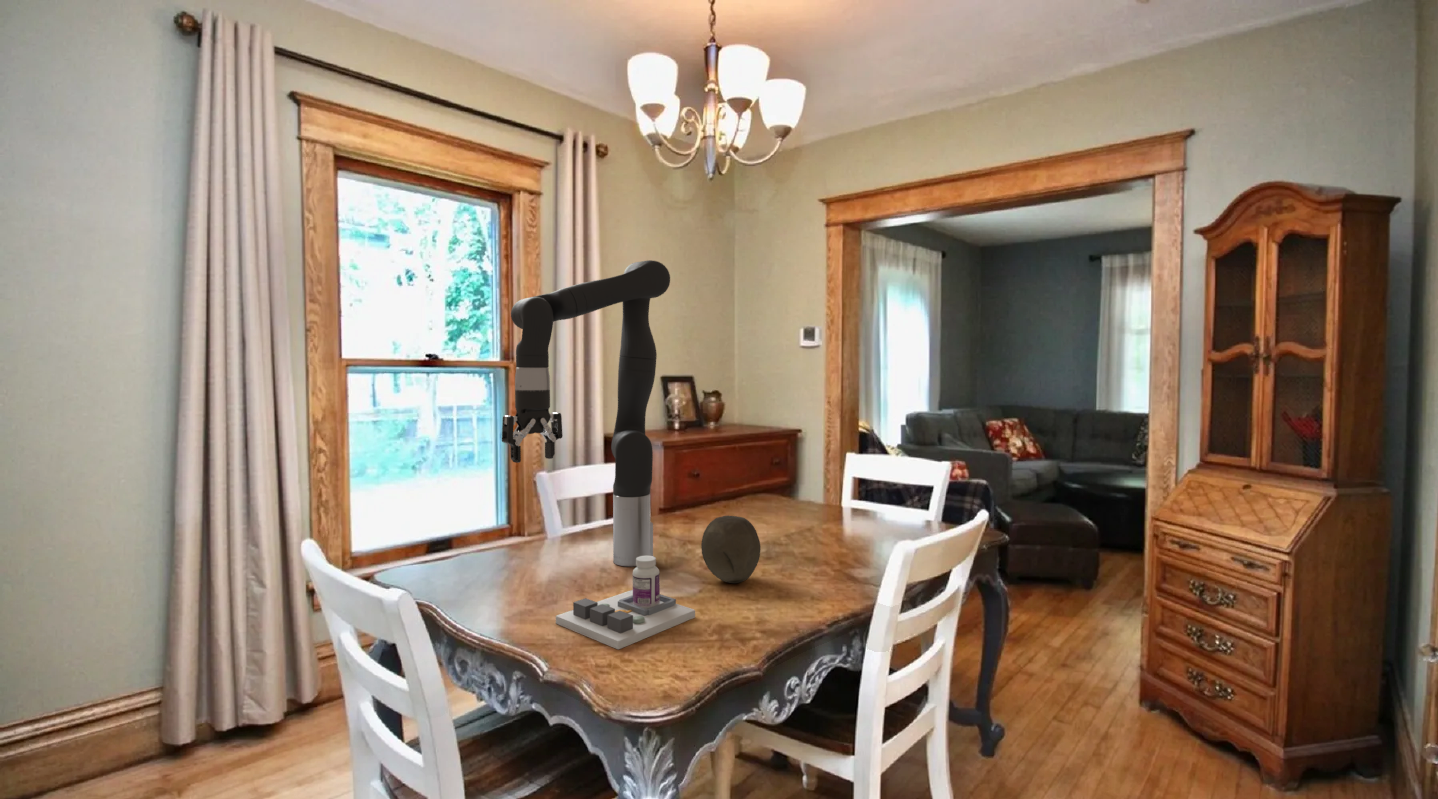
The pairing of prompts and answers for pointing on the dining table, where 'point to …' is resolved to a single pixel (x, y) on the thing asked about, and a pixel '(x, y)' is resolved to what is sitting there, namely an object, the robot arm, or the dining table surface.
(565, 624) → the board
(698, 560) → the dining table surface
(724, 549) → the dark grey rounded stone
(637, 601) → the pill bottle
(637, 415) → the robot arm
